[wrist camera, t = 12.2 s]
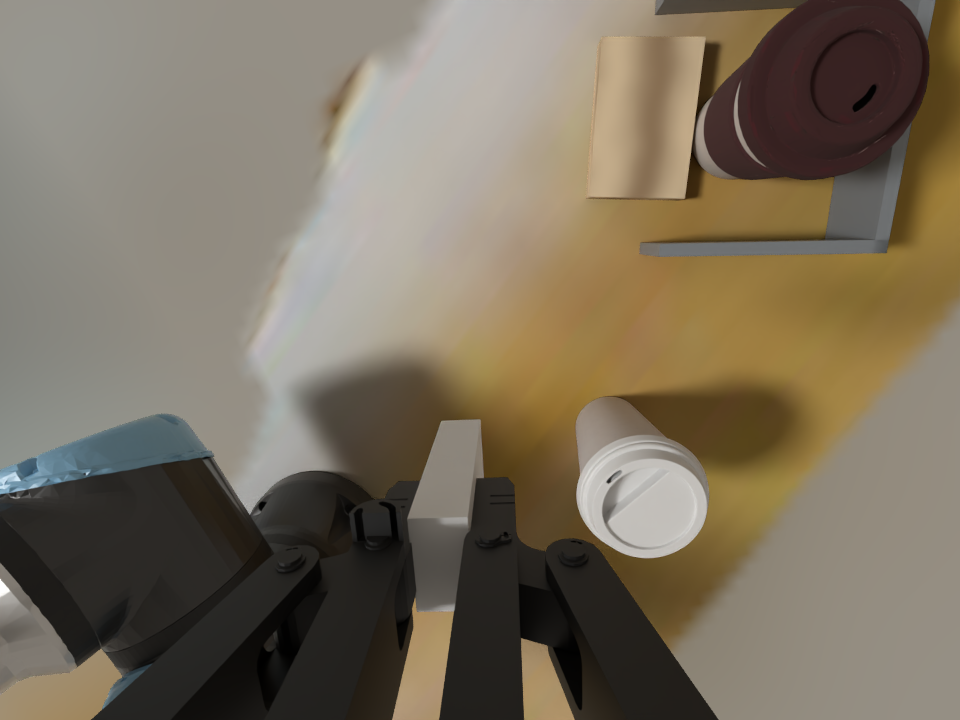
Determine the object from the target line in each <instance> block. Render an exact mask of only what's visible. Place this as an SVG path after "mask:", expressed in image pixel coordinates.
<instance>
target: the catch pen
mask: <svg viewBox="0 0 960 720" xmlns="http://www.w3.org/2000/svg"><path fill="white" fill-rule="evenodd" d="M806 1H808V0H656V8H655V15H662V14H681V13H701V12H720V11H739V10H758V9H777V8H796V7H798V6H800V5H801V4H803V3H804V2H806ZM900 1H901V2H903V3H904V4H905V5H906V6H907V7H908V8H909V9H910V10H911V11H912V13H913V14H914V16H915V17H916V18H917V20H918V21H919V23H920V25H921V27H922V30H923V32H924V35H925V37H926V40H927V41H928V36H929V31H930V26H931V21H932V16H933V10H934V5H935V0H900ZM911 124H912V122H911V123H910V125H909V126H908V128H907V129H906V131H905V132H904V134H903V135H902V136H901V137H900V138H899V140H898V141H897V142H896V143H895V144H894V145H893V146H892V147H891V148H889V149H888V150H887V151H886V152H885V153H883V154H882V155H881V156H880V157H878V158H877V159H875V160H874V161H872V162H871V163H869V164H868V165H866V166H864V167H862V168H860V169H857V170H855V171H853V172H850V173H847V174H843V175H839V176H835V180H834V186H833V192H832V198H831V204H830V211H829V217H828V223H827V229H826V236H825V239H822V240H767V241H712V242H656V243H640V254H643V255H650V256H658V257H670V256H732V255H795V254H857V253H887V247H888V242H889V237H890V232H891V227H892V222H893V217H894V211H895V206H896V201H897V196H898V191H899V186H900V180H901V175H902V170H903V165H904V160H905V155H906V150H907V144H908V139H909V134H910V129H911Z"/></svg>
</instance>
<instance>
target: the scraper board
mask: <svg viewBox="0 0 960 720" xmlns="http://www.w3.org/2000/svg"><path fill="white" fill-rule="evenodd" d="M705 38H706V37H602V38H601V40H600V42H599V45H598V47H597V60H596V73H595V85H594V98H593V111H592V124H591V137H590V150H589V162H588V175H587V188H586V199H627V200H676V201H677V200H681V199H685V194H686V186H687V179H688V171H689V163H690V155H691V147H692V140H693V132H694V124H695V116H696V108H697V101H698V93H699V85H700V77H701V70H702V62H703V54H704V46H705Z"/></svg>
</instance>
